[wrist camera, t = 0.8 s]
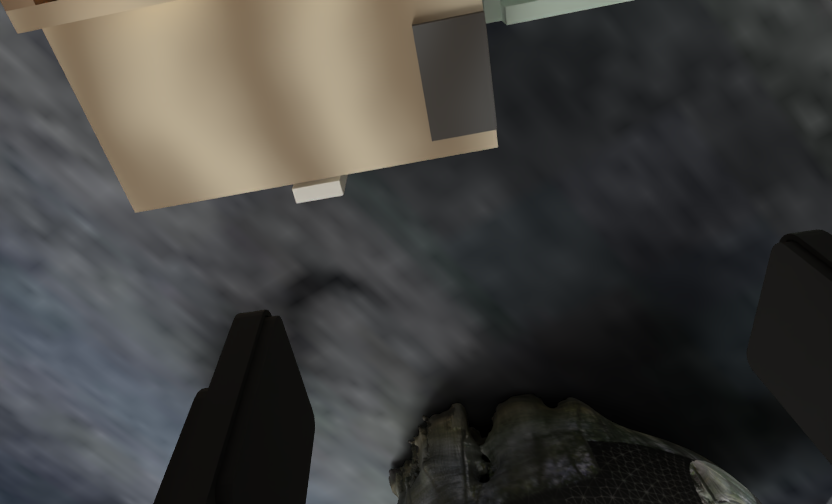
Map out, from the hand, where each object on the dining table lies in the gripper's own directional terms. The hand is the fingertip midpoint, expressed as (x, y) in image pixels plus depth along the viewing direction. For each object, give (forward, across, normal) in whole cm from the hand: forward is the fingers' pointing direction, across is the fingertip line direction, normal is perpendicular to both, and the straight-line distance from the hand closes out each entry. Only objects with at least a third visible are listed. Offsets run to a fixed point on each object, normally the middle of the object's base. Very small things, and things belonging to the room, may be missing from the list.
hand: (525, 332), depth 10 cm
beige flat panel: (+18, +7, -5) cm, 20 cm away
